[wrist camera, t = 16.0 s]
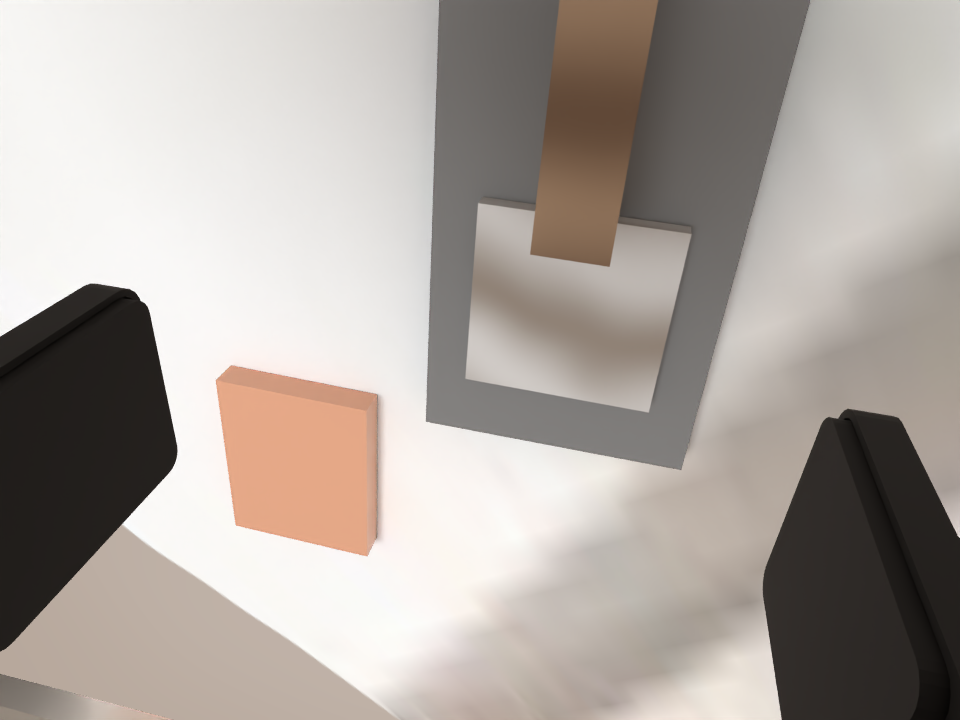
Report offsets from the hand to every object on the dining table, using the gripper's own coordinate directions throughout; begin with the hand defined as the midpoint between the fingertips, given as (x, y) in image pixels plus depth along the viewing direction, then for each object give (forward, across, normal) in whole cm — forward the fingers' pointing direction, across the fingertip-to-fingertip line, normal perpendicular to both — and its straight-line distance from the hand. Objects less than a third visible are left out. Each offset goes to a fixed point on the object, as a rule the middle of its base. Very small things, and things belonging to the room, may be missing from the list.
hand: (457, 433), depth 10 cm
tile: (+20, +13, +14) cm, 28 cm away
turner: (+19, 0, +2) cm, 19 cm away
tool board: (+20, 0, +3) cm, 21 cm away
